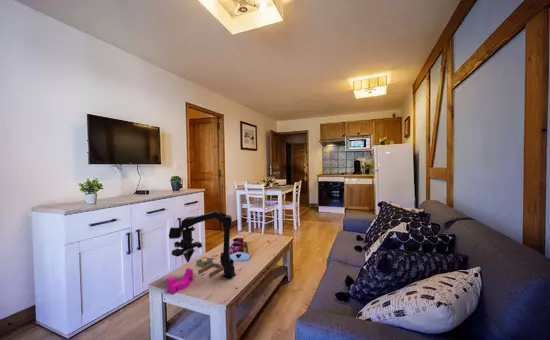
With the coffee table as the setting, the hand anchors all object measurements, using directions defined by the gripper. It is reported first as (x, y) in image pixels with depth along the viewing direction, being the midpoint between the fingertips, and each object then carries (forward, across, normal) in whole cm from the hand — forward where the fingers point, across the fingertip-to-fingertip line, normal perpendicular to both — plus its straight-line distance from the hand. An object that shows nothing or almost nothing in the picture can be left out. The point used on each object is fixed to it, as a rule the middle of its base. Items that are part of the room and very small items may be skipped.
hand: (187, 262), depth 142 cm
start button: (+10, -20, -8) cm, 24 cm away
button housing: (+11, -20, -8) cm, 25 cm away
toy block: (+12, +7, +4) cm, 14 cm away
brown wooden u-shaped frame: (+11, -12, +5) cm, 17 cm away
